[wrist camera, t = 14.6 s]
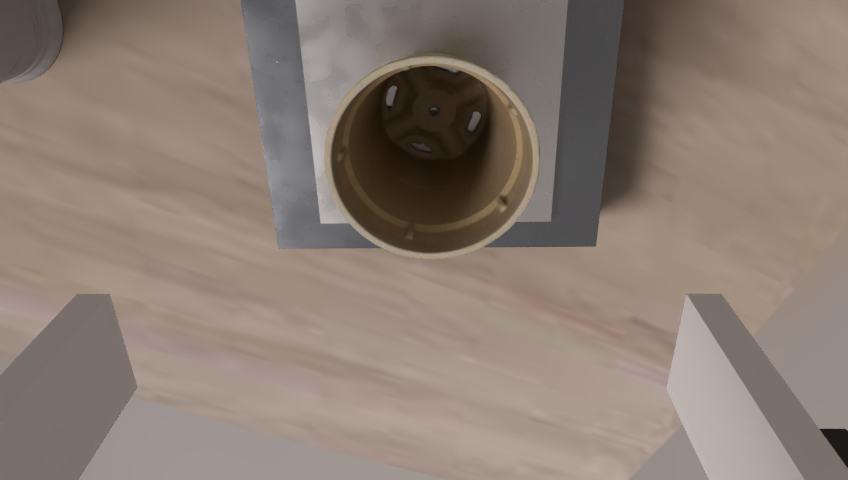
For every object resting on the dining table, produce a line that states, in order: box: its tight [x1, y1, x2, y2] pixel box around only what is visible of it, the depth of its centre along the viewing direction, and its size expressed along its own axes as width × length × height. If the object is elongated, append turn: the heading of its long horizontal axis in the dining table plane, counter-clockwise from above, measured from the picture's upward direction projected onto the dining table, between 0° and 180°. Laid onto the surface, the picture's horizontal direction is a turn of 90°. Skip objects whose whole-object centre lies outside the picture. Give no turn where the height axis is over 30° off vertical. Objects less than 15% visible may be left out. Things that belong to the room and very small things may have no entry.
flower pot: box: [324, 53, 540, 259], centre depth 31 cm, size 9×9×9 cm
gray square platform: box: [241, 0, 625, 249], centre depth 37 cm, size 20×18×4 cm
